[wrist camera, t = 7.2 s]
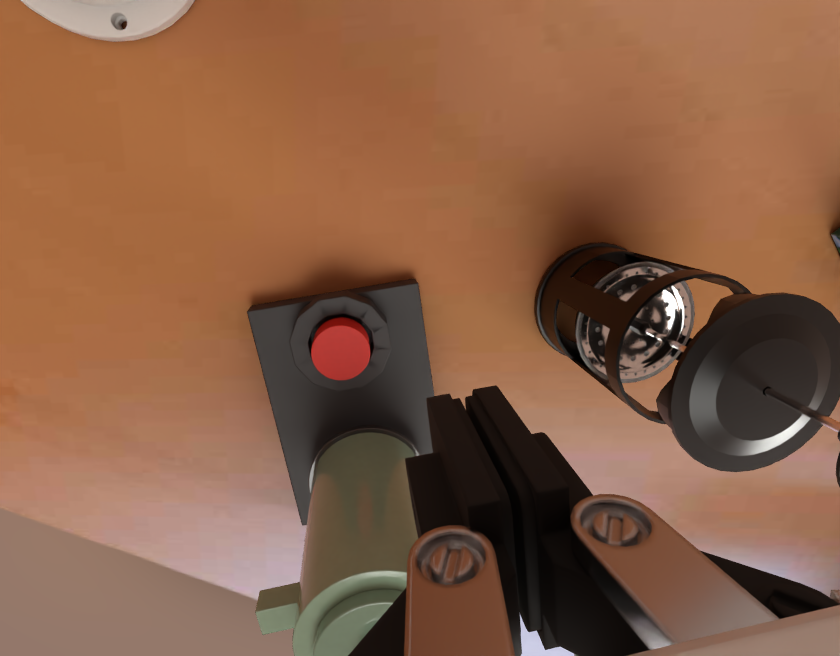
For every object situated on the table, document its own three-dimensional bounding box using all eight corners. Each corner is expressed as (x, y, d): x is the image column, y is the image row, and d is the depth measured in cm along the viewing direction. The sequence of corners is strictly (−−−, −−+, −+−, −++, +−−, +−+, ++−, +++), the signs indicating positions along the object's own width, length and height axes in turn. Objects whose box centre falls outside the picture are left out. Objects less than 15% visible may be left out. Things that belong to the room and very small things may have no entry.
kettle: (272, 441, 35) (211, 646, 19) (416, 414, 36) (465, 589, 20) (304, 563, 38) (274, 819, 23) (435, 535, 39) (490, 763, 24)
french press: (505, 327, 38) (712, 522, 16) (566, 216, 36) (889, 273, 15) (622, 382, 41) (930, 609, 19) (684, 282, 39) (1101, 411, 18)
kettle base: (250, 300, 35) (239, 313, 32) (414, 273, 36) (421, 282, 33) (303, 512, 41) (299, 541, 37) (444, 483, 42) (453, 509, 38)
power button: (308, 322, 33) (305, 330, 31) (363, 312, 33) (364, 320, 31) (319, 373, 34) (317, 385, 32) (373, 363, 34) (374, 374, 32)
